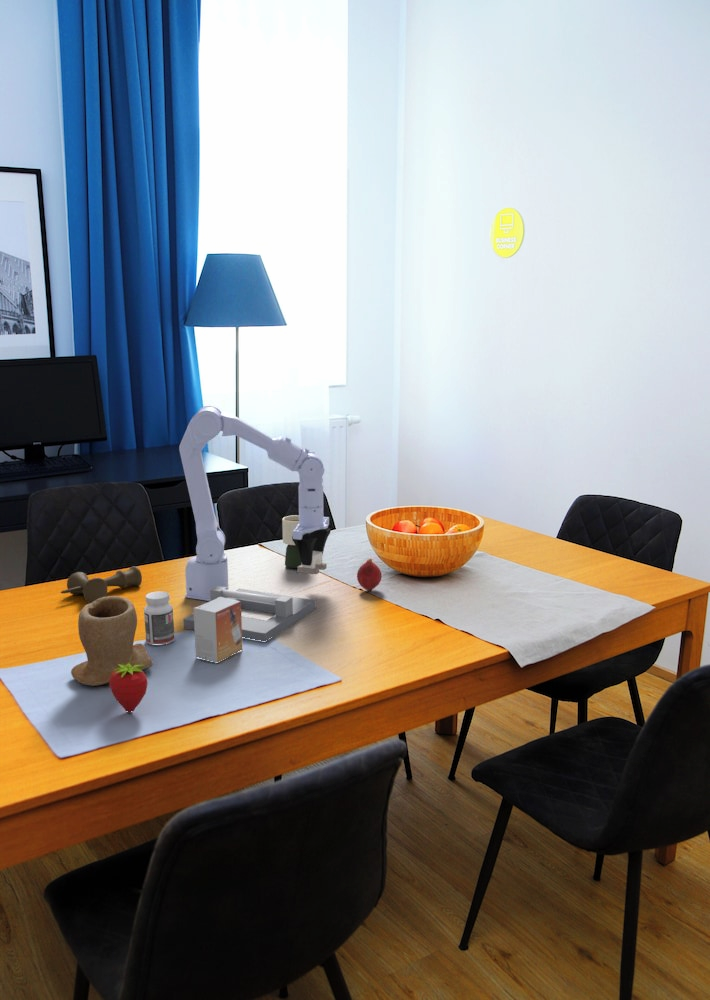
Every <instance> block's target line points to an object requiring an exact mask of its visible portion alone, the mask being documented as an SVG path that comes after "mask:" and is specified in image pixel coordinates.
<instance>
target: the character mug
mask: <svg viewBox="0 0 710 1000" xmlns="http://www.w3.org/2000/svg"><path fill="white" fill-rule="evenodd" d="M281 521H282V522H281V523H282V524H281V526H282V528H281V529H282V542H283V544H285V545H287V546H286V548H285V557H284V566H285V567H286V568H291V569H295V568H297V567H298V566H300V565H301V559H300V555H299V552H298V549H297V547H296V545H295V543H294V542H293V540H292V536H293V530H295V529H296V527H297V525H298V524H299V514H298V515H297V514H295V515H294V514H292V515H288V516H284V517H283V518H281Z"/></svg>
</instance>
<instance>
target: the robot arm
mask: <svg viewBox="0 0 710 1000" xmlns="http://www.w3.org/2000/svg"><path fill="white" fill-rule="evenodd" d="M221 432H222V434H221V436H222V437H229V436H236V437H238V438H240V439H242V440H244V441H246V442H248V443H250V444H252V445H254V446H257V447H258V448H260V449H262V450H264V451H266V453H267V456H268V457H267V458H268V459H269V460H271V461H273V462H275V463H276V464H278V465H280V466H282V467H284V468H286V469H287V470H289V471H291V472H297V473H298V475H299V477H298V478H299V484H298V487H297V488H298V515H299V524H298V525H297V527H296V529H295V530H293V536H292V540H293V542H294V543H295V545H296V547H297V549H298V552H299V555H300V559H301V562H302V565H308V566H310V565H311V563H312V555H313V551H319V552H322V556H324V555H323V554H324V551H325V550H324V549H325V546H326V542H327V540H328V538H329V536H330V534H331V528H329V525H330V517H329V516H324V485H323V482H324V480H323V476H324V474H325V467H324V464H323V460H322V458H321V457H320V456H319V455H318V454H316V453H315V452H314V451H310V449H309V448H307V447H305V448H303V447H301V446H299V445H298V444H295V443H294V442H292V438H290V437H288V436H285V437H283V436H278V437H271V436H270V435H268V434H267V433H265V432H263V431H261V430H259V429H258V428H257V427H255V426H253V425H251V424H249V423H248V422H246V421H244V420H242V419H241V418H240V417H237V416H236V415H234V414H231V413H229V412H228V411H225V410H220V409H219V408H218V407H216V406H214V405H206V406H203V407H201V408H199V409H198V411H197V412H196V413H195V414H194V415H193V416H192V417H191V419H190V421H189V422H188V425H187V427H186V430H185V432H184V434H183V436H182V439H181V441H180V444H179V447H178V448H179V449H178V451H179V456H180V459H181V464H182V468H183V472H184V477H185V480H186V485H187V491H188V494H189V499H190V503H191V508H192V512H193V513H192V514H193V517H194V521H195V532H196V538H197V542H196V543H197V544H196V546H195V550H196V551H195V553H196V556H193V557H191V558H189V559H188V561H187V563H186V565H185V571H184V572H185V590H186V591H185V592H186V593H185V594H184V598H188V599H193V600H199V601H207V602H210V601H211V600H210V590H211V589H213V588H215V587H217V586H221V587H227V590H230V588H229V587H230V586H229V568H228V555H226V553H225V545H226V535H225V533H224V531H223V530H222V529H221V528H220V525H219V522H218V519H217V517H216V512H215V508H214V505H213V500H212V494H211V489H210V487H209V486H210V485H209V481H208V476H207V475H208V474H207V472H206V467H205V464H204V458H203V454H202V453H203V452H202V451H203V450H204V448H205V446H206V445H207V444H208V443H209V442H210V441H212V440H213V439H215V438H216V437H217V436H218V435H219V434H220V433H221ZM231 590H232V591H236V590H235V589H231Z"/></svg>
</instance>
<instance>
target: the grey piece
mask: <svg viewBox="0 0 710 1000" xmlns="http://www.w3.org/2000/svg"><path fill="white" fill-rule="evenodd" d="M232 590H233V589H229V590H227V587H221V586H217V587H215V588H213V589H211V590H210V600H211V601H212V600H215V599H217V598H218V597H224V598H228V599H233V600H237V601H241V609H245V610H250V611H257V612H264V613H269V614H275V615H273V616H271V617H269V618H268V619H267V620H266V619H259V618H255V617H249V616H248V617H247V616H243V615H241V620H242V637H245V638H250V639H255V640H261V641H266V640H268V639H269V638H271V637H273V638H275V637H276V636H278V635H279V634H280V633H282V632H283V631H285V630H287V629H289V627H291V626H292V625H293V624H295V623H297V622H298V621H300V620H301V619H302V618H304V617H306V616H307V615H309V614H310V613H312V612H313V611H315V610H316V607H317V606H316V599H310V598H304V597H297V596H290V595H285V594H276V593H270V592H265V591H258V590H251V589H244V588H237V589H236V590H235V591H232ZM182 622H183V629H185V630H186V629H188V630H192V629H194V613H192V614H190V615H188V616H186V617H185V618H183V620H182ZM271 639H272V638H271Z"/></svg>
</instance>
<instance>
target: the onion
mask: <svg viewBox="0 0 710 1000" xmlns="http://www.w3.org/2000/svg"><path fill="white" fill-rule="evenodd" d="M382 577H383V576H382V571H381V569H380V567H379V566H378V565H377V564H376V563H375V562H373V559H372V558H367V560H366V562H364V563H362V565H361V566H360V567H359V568H358V570H357V573H356V578H357V579H356V580H357V582H358V584H359V586H360V587H361V588H362V589H364V590H366V591H368V592H371V591H370V590H372V591H373V590H374V589H376V587H377V586H379V584H381V581H382Z"/></svg>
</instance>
